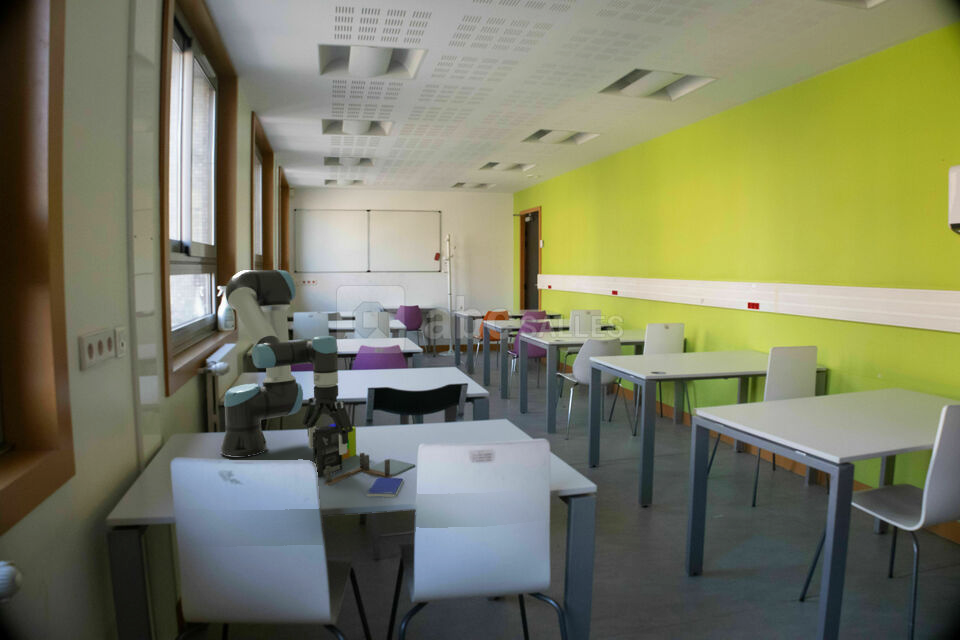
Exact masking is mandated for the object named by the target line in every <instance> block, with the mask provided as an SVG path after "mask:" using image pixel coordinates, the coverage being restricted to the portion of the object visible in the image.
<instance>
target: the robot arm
mask: <svg viewBox="0 0 960 640" xmlns="http://www.w3.org/2000/svg"><path fill="white" fill-rule="evenodd" d="M296 292H297V291H296V283H295V281H294V278H293V276H292V275H291V274H290V273H289V272H288V271H287V270H283V269H281V270H279V269H257V270H254V269H253V270H252V269H251V270H250V269H246V270H245V269H244V270H241V271H239V272H237V273H235V274H234V275H233V276H232V277H231V278H230V279H229V281H228V282H227V284H226V287H225V299H226V302H227V303H228V306H229V307H230V308H231V309H233V310H235V311H236V314H237V316H238V317H239V319H240V321H241V323H242V326H243V327H244V329H245V331H246V333H247V335H248V336H249V338H250V341H251V342H252V344H253V345H254V346H253V347H252V349H251V350H252V351H251V359H252V364H253V365H254V366H255V367H256V368H257V369H266V371H265V373H266V377H265V378H264V379H263V381H262V386H260V385H259V384H258V383H246V384H241V385H237V386H233V387H230V389H228V390H226V392H225V394H224V402H223V406H224V421H225V422H224V423H225V433H224V437H223V440H222V444H221V446H220V449H221V450H220V453H221V452H222V453H223V454H225V455H231V456H248V455H253V454H257V453H260V452H262V453H264V452H265V450H266V451H267V450H268V447H267V445H268V444H267V440H266V437H265V435H264V432H263V430H262V420H268V419H273V418H278V417H283V416H284V417H288V416H291V415H294V414H297V413H298V412H299V411H300V409H301V408H302V405H303V400H304V391H303V388H302V384H301V383H299V382H297V378H296V377H295V376H294V375H292V369H291V366H296V365H303V364H304V365H306V364H311V365H312V368H313V369H312V371H313V385H314V386H313V396H312V397H310V398H308V403H307V404H308V405H307V408H306V411H305V414H304V417H303V419H302V425H303V426H306V428H307V437H308V448H309V449H313V432H315V429H317V426H316V424H317V422H318V421H319V419H320V418H321V416H322V414H324V415H326V416H329V417H331V419H332V420H333V422H334V423H335V424H336V426H337V427H338V429H339V431H340V434H339V455H342V454H345V453H347V443H348V433H349V432H352V431H353V427H354V426H353V425H352V423H351V419H350V416H349V415H348V414H349V413H348V412H347V409H346V403H345V401H344V400H342V401H338V399H337V398H338V396H339V384H338V383H339V372H338V371H339V370H338V369H339V368H338V365H339V364H338V363H339V362H338V360H339V359H338V349H339V348H338V347H339V346H338V340H337V338H336V337H335V336H333V335H317V336H314V337H313V338H307V339H306V338H303V339H301V340H297V341H290V340H289V326H288V325H289V324H288V313H287V310H288V309H289V308H290V307H291V302H292V301H294V299H295V298H296ZM343 429H344V430H343ZM316 432H317V431H316ZM263 451H264V452H263ZM260 454H261V453H260ZM257 455H258V454H257ZM253 456H254V455H253ZM248 457H249V456H248Z"/></svg>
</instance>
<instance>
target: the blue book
mask: <svg viewBox="0 0 960 640" xmlns="http://www.w3.org/2000/svg"><path fill="white" fill-rule="evenodd" d="M403 483H404V478H402V477H401V478H400V477H389V478H384V477H377V478H376V480H375V481H374V482H373V484H372V485H371V487H370V488H369V490H368V492H367V494H366V497H371V496H383V497H382V498H396V496H397V494H398V492H399V490H400V489H401V487H402V485H401V484H403ZM400 486H401V487H400ZM384 496H385V497H384Z"/></svg>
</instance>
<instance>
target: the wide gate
mask: <svg viewBox="0 0 960 640" xmlns="http://www.w3.org/2000/svg"><path fill="white" fill-rule="evenodd" d="M364 455H366V454H365V453H364V452H360V453H359V467H357V468H355V469H354V468H353V469H352V470H350V471H347V472H345V473H343V474H340V475H338V476H336V477H333V478H332V474H331V466H326V476H325V481H324V485H326V484H327V485H326V486H331V485H333V484H336V483H337V482H341V481H342V479H343V480H345V479H348V478H349V476H350V477H352V476H354V475H356V473H357V474H359V473H361V471H362V472H363V470H364ZM358 472H359V473H358ZM351 475H352V476H351ZM330 484H331V485H330Z"/></svg>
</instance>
